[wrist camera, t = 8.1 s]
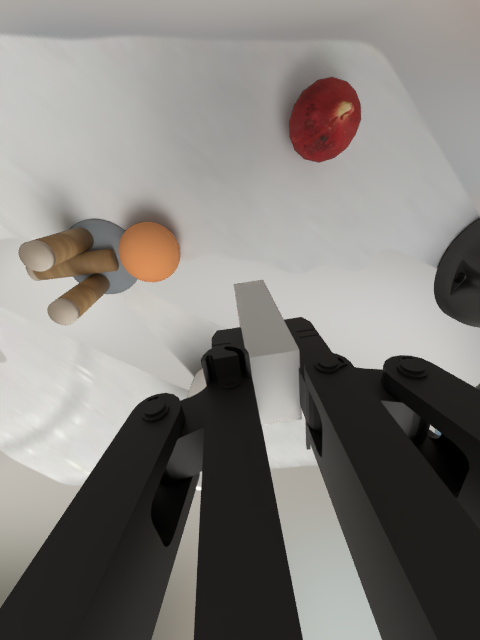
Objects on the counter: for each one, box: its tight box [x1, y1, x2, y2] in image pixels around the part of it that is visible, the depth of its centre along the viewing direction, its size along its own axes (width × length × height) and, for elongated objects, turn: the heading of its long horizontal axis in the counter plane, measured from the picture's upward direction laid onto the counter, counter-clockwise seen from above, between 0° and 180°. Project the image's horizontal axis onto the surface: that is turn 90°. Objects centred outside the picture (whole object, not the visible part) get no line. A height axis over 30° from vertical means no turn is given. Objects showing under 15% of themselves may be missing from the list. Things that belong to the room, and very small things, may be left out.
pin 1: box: [19, 228, 94, 272], centre depth 25 cm, size 2×2×9 cm
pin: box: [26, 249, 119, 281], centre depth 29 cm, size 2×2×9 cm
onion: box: [289, 77, 361, 162], centre depth 23 cm, size 6×6×8 cm
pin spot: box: [69, 219, 137, 294], centre depth 30 cm, size 8×8×1 cm
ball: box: [118, 222, 180, 282], centre depth 27 cm, size 6×6×6 cm
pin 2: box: [48, 273, 110, 325], centre depth 27 cm, size 2×2×9 cm
